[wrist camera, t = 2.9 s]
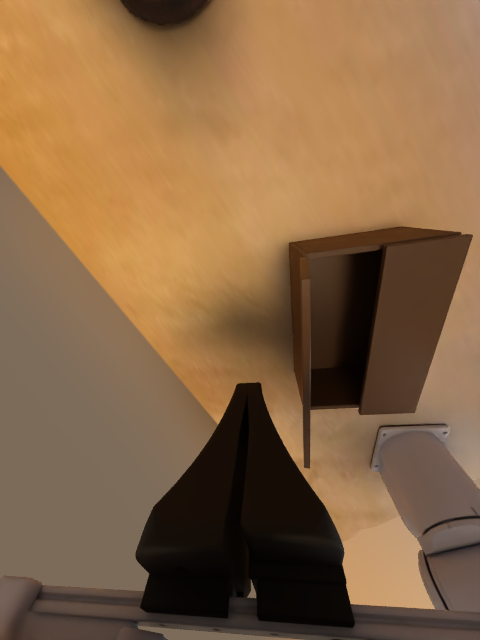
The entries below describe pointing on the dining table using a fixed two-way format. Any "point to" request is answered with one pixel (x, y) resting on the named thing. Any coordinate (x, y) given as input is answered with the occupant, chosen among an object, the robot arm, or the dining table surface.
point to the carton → (374, 314)
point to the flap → (305, 353)
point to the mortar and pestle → (163, 10)
